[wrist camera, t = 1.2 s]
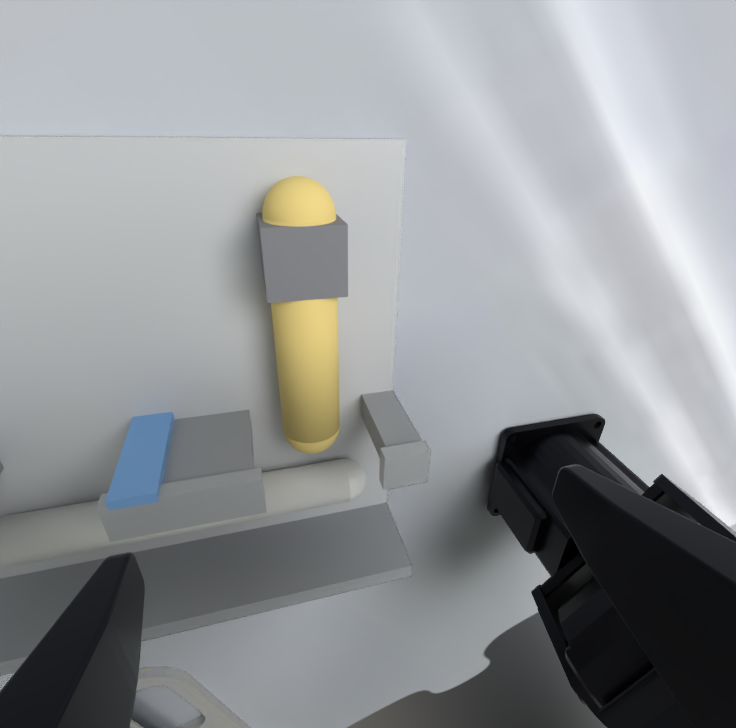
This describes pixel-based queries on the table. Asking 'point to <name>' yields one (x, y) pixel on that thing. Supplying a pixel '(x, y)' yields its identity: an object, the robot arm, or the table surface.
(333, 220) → the yellow capsule with collar
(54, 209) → the pipe mounting panel
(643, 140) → the table surface
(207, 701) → the network device
